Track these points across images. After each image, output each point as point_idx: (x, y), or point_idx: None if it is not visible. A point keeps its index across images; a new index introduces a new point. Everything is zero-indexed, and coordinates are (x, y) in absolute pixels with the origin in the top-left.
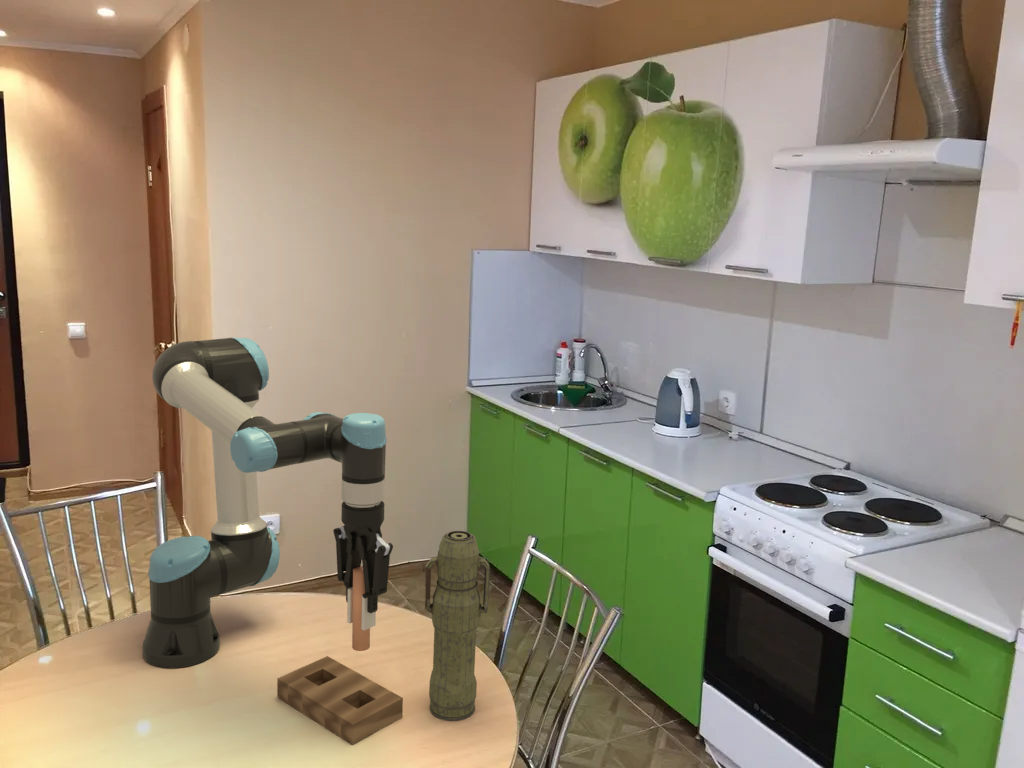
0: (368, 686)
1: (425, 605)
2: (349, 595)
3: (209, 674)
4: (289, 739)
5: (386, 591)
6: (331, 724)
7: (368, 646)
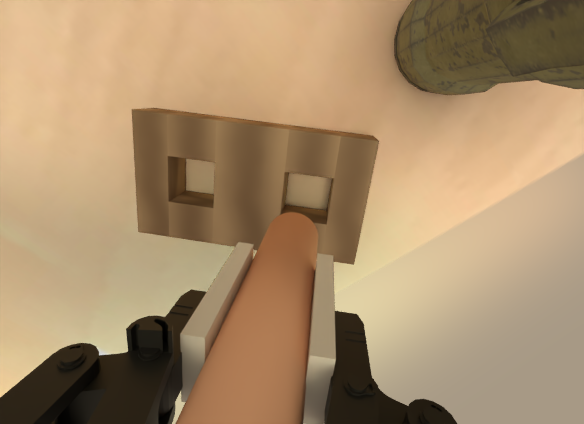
0: (289, 151)
1: (523, 73)
2: None
3: (28, 231)
4: None
5: (450, 416)
6: None
7: (317, 235)
